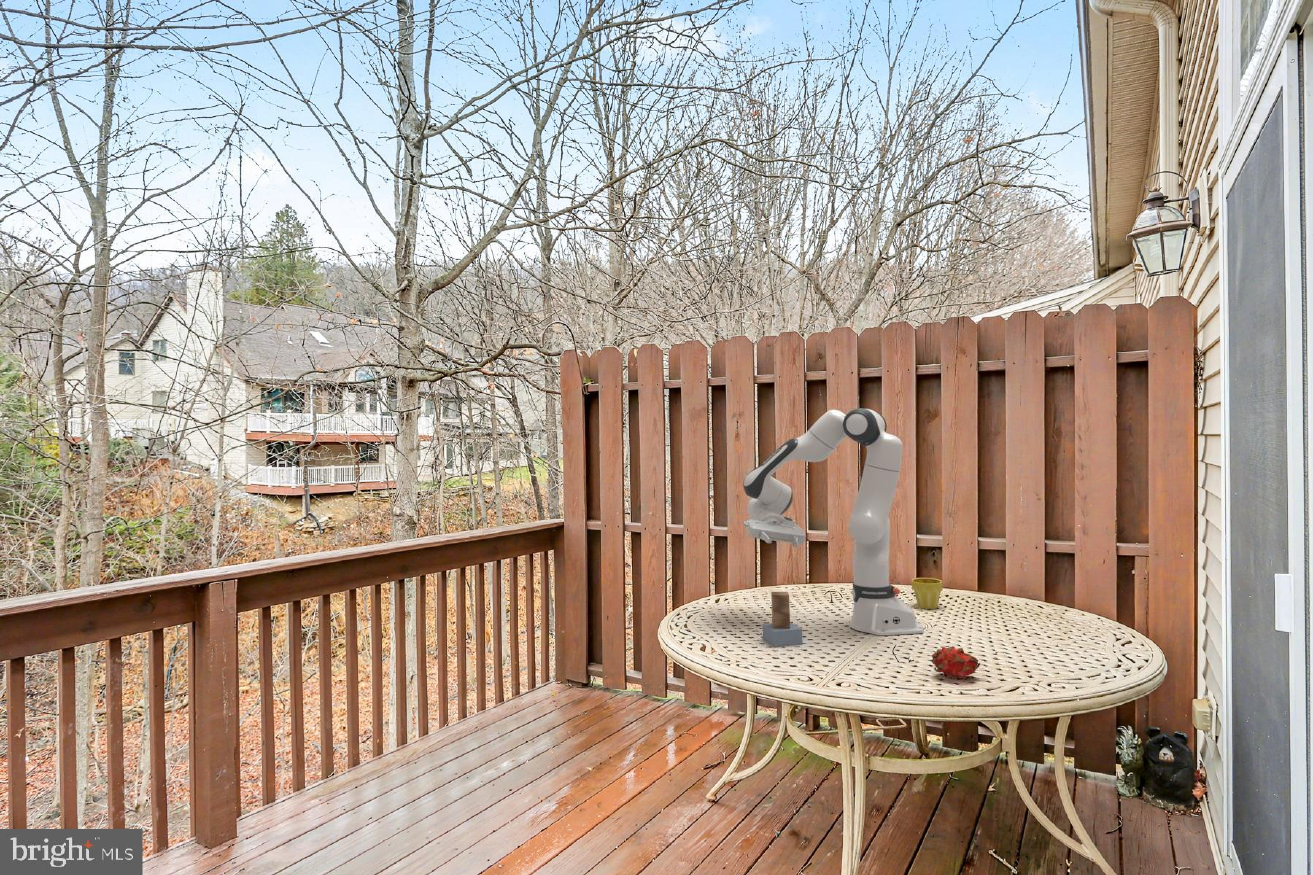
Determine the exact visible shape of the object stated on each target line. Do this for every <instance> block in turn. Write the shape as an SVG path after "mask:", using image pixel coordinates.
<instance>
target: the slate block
mask: <svg viewBox="0 0 1313 875" xmlns="http://www.w3.org/2000/svg"><path fill="white" fill-rule="evenodd" d="M762 640H764V641H765V642H766V643H768V644H770V645H771V646H772V647H774V648H785V647H793V646H802V645H803V628H801V627H799V626H798V625H796V624H794V622H793V623H792V622H791V621H790V628H773V625H772V622H770V623H762Z"/></svg>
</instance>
